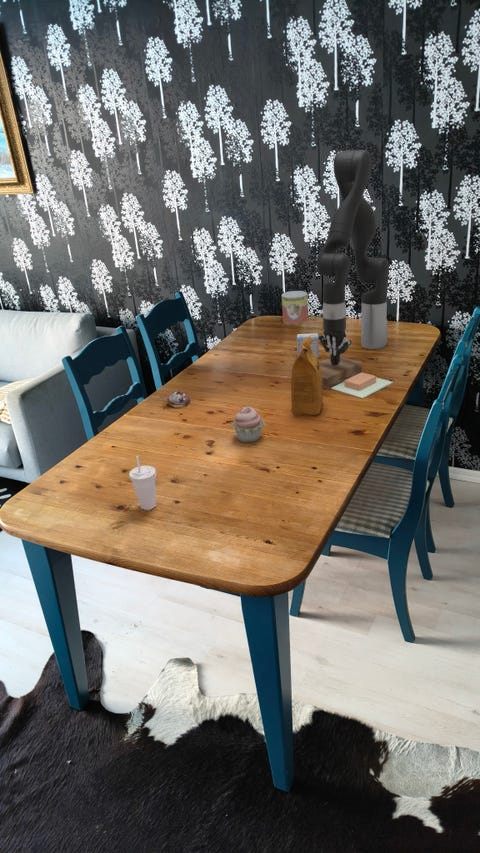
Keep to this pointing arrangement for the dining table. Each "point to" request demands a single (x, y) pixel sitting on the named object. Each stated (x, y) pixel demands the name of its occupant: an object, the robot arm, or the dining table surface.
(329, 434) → the dining table surface
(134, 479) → the smoothie
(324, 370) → the deck
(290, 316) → the canned food
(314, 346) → the medicine box
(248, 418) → the cupcake
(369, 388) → the mat
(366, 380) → the pink rectangular block
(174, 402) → the pastry
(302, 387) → the coffee package
